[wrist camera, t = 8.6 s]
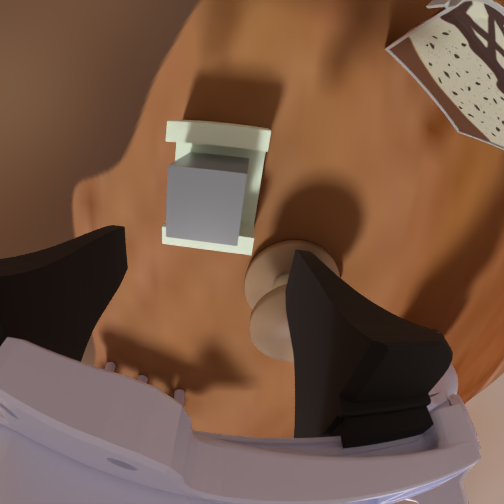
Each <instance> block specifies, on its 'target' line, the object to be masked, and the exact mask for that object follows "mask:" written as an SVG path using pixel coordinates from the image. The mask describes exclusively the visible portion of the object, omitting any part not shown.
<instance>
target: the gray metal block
mask: <svg viewBox="0 0 504 504" xmlns="http://www.w3.org/2000/svg"><path fill="white" fill-rule="evenodd" d="M248 165H249V158H242V157H234V156H225V155H216V154H206V153H196V152H189V153H188V154H186V155H185V156H183V157H181V158H180V159H178V160H176V161H175V162H173V163H172V164H170V165H169V166H168V179H167V204H166V237H171V238H179V239H186V240H194V241H202V242H210V243H217V244H225V245H233V246H237V244H238V237H239V229H240V222H241V215H242V207H243V200H244V193H245V186H246V179H247V172H248Z"/></svg>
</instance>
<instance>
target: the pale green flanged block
mask: <svg viewBox="0 0 504 504" xmlns="http://www.w3.org/2000/svg"><path fill="white" fill-rule="evenodd" d="M270 135H271V130H270V129H269V128H263V127H256V126H249V125H241V124H232V123H223V122H212V121H199V120H183V119H182V120H172V121H167V131H166V142H177V143H176V155H175V161H176V160H178V159H180V158H181V157H183V156H185V155H186V154H188V153H189V152H196V153H206V154H216V155H225V156H234V157H242V158H249V165H248V172H247V179H246V186H245V193H244V200H243V207H242V215H241V222H240V229H239V237H238V244H237V246H233V245H225V244H217V243H210V242H202V241H194V240H186V239H179V238H171V237H166V222H165V223H164V225H163V226H162V244H169V245H177V246H184V247H192V248H200V249H207V250H215V251H223V252H230V253H238V254H246V255H251V254H252V248H253V242H254V222H255V216H256V209H257V203H258V196H259V190H260V184H261V177H262V171H263V165H264V158H265V152H268V148H269V142H270Z"/></svg>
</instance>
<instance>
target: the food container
mask: <svg viewBox="0 0 504 504" xmlns="http://www.w3.org/2000/svg"><path fill="white" fill-rule="evenodd" d="M426 7H427V8H437V7H445V8H444V9H442V10H440V11H439V12H437V13H436V14H434V15H432V16H431V17H429V18H427V19H426V20H424V21H423V22H421V23H420V24H418V25H417V26H415V27H414V28H412V29H411V30H409V31H408V32H406V33H405V34H403V35H402V36H400V37H399V38H397V39H396V40H394V41H393V42H392V43H390V44H389V45H388V46H387V47H386V48H385V50H386V51H387V52H388V53H389V54H391V55H392V56H393V57H394V58H395V59H396V60H397V61H398V62H399V63H400V64H401V65H402V66H403V67H404V68H405V69H406V70H407V71H408V72H409V73H410V74H411V75H412V76H413V77H414V79H415V80H416V81H417V82H418V83H419V84H420V85H421V86H422V87H423V89H424V90H425V91H426V92H427V93H428V94H429V95H430V97H431V98H432V99H433V100H434V101H435V103H436V104H437V105H438V106H439V108H440V109H441V110H442V111H443V113H444V114H445V115H446V117H447V118H448V119H449V121H450V122H451V123H452V125H453V126H454V128H455V129H456V130H457V132H458V133H460V134H463V135H466V136H469V137H472V138H475V139H477V140H480V141H483V142H485V143H488V144H490V145H493V146H495V147H497V148H500V149H502V150H504V7H503V6H501V5H500V4H498V3H496V2H494V1H492V0H432V1H431V2H430V3H429V4H428V5H427V6H426Z"/></svg>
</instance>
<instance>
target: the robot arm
mask: <svg viewBox="0 0 504 504" xmlns="http://www.w3.org/2000/svg"><path fill="white" fill-rule="evenodd" d="M127 269H128V266H127V255H126V243H125V227H123V226H115V225H111V226H106V227H103V228H100V229H97V230H95V231H92V232H89V233H87V234H84V235H82V236H79V237H77V238H74V239H72V240H69V241H67V242H64V243H61V244H59V245H56V246H53V247H50V248H47V249H44V250H41V251H37V252H33V253H29V254H25V255H20V256H16V257H11V258H4V259H0V504H393V503H396V502H399V501H402V500H410V501H415V502H417V503H418V504H469V503H468V499H467V495H466V491H465V488H464V484H463V480H464V479H465V477H466V476H467V474H468V473H469V471H470V470H471V468H472V467H473V465H474V464H476V463H477V462H478V461H480V459H481V455H480V453H479V450H480V444H479V441H478V439H477V433H476V430H475V428H474V425H473V423H472V420H471V418H470V416H469V414H468V412H467V409H466V407H465V405H464V403H463V401H462V399H461V397H460V395H457V390H458V378H457V374H456V371H455V369H454V367H453V366H452V364H451V361H452V356H453V352H452V350H451V348H450V346H449V345H448V343H447V341H446V340H445V338H444V336H443V335H442V334H441V333H440V332H436V331H433V330H430V329H427V328H424V327H421V326H418V325H416V324H413V323H411V322H409V321H407V320H404V319H402V318H400V317H398V316H396V315H394V314H392V313H390V312H388V311H387V310H385V309H383V308H381V307H379V306H378V305H376V304H374V303H373V302H371V301H370V300H368V299H367V298H365V297H364V296H362V295H361V294H359V293H358V292H357V291H355V290H354V289H353V288H352V287H350V286H349V285H348V284H347V283H345V282H344V281H343V280H342V279H341V278H340V277H338V276H337V275H336V274H335V273H334V272H333V271H332V270H331V269H330V268H328V267H327V266H326V265H325V264H324V263H323V262H322V261H321V260H320V259H319V258H318V257H317V256H315V255H314V254H313V253H312V252H310V251H304V250H297V249H295V254H294V258H293V262H292V266H291V270H290V274H289V278H288V282H287V286H286V290H285V299H286V314H287V320H288V326H289V331H290V337H291V343H292V349H293V355H294V367H295V430H294V438H263V437H246V436H234V435H224V434H216V433H208V432H201V431H195V430H192V421H191V419H190V417H189V416H188V414H187V413H186V411H185V410H184V408H183V407H182V405H181V404H180V403H179V402H178V401H177V400H175V399H174V398H172V397H170V396H169V395H167V394H166V393H164V392H163V391H161V390H160V389H158V388H157V387H155V386H153V385H150V384H147V383H144V382H142V381H139V380H137V379H134V378H131V377H129V376H126V375H122V374H119V373H115V372H112V371H108V370H105V369H101V368H98V367H95V366H92V365H89V364H86V363H82V362H81V360H82V357H83V354H84V351H85V348H86V346H87V343H88V341H89V338H90V336H91V334H92V331H93V329H94V327H95V325H96V323H97V322H98V320H99V318H100V317H101V315H102V313H103V312H104V310H105V309H106V307H107V305H108V304H109V302H110V301H111V299H112V297H113V296H114V294H115V293H116V291H117V289H118V288H119V286H120V284H121V282H122V280H123V278H124V275H125V273H126V271H127Z"/></svg>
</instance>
